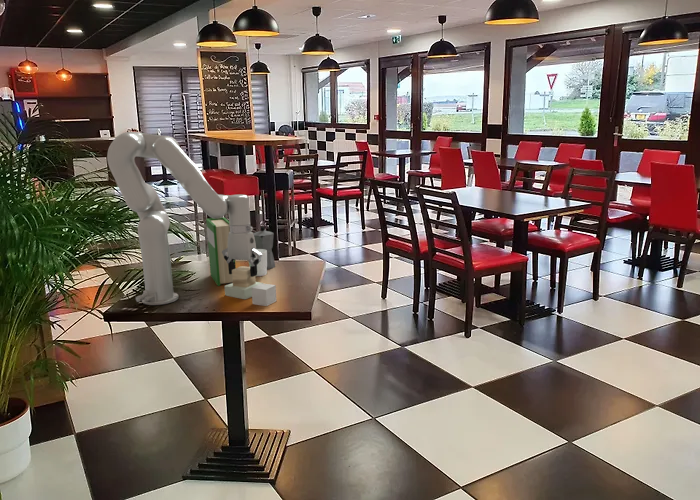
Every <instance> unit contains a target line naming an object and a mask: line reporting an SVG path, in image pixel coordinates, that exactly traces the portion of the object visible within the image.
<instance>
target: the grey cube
mask: <svg viewBox="0 0 700 500" xmlns="http://www.w3.org/2000/svg"><path fill="white" fill-rule="evenodd" d="M260 283H261V284H259V285H257V286H255V287H252V297H251V299H252V305H256V306H265V307H268V306H270V305H272V304H273V303H275V302H277V287H276V284H271V283H264V282H260Z"/></svg>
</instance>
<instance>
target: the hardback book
mask: <svg viewBox="0 0 700 500" xmlns="http://www.w3.org/2000/svg"><path fill="white" fill-rule="evenodd" d="M205 221H206V232H207V233H206V235H207V245H208V246H207V248H208V257H209V259H208V260H209V270H210V271H209V273H210V277H211V278H212V280H213V282H215V285H217V287H221V285H222V284H232V283H233V279H232V274H229V268H228V263H227V261H226V260H225V259H224V256H223V254H222V251H223V250H225V249H226V248H228V235H229V232H230V227H229V219H227V218H226V217H224V216H223V217H222V218H219V219H214V218H211V217H209V218H206V219H205ZM227 254H228V252H227ZM233 262H235V263H236V260H234V261H233ZM236 268H237V267H236V264H235V269H236Z"/></svg>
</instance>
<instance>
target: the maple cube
mask: <svg viewBox="0 0 700 500" xmlns="http://www.w3.org/2000/svg"><path fill="white" fill-rule="evenodd" d="M232 279H233V282H232V283H233V286H238V287H249V286H251V285H253V284H255V283H256V282H257V281H256V276H254V277H251V274H250V267H249V266H243V265H242V266H238V267H236V269H233V270H232Z"/></svg>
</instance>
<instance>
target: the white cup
mask: <svg viewBox="0 0 700 500" xmlns="http://www.w3.org/2000/svg"><path fill="white" fill-rule="evenodd" d="M256 250H257V251H258V252H260V253H261V254H262V258H261V261H260V262H259V263H258V265H257V275H256V276H255V277H262V276H266V275H267V273H268V269H267V250H265V249H256ZM255 259H257V257H256V258H255ZM248 264H249V266H248V267H250V266H252V265H251V264H250V263H249V262H248Z"/></svg>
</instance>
